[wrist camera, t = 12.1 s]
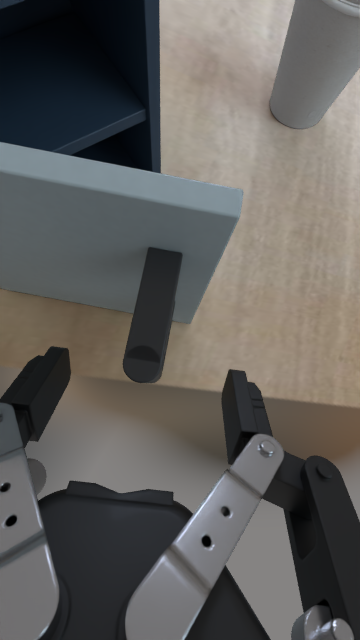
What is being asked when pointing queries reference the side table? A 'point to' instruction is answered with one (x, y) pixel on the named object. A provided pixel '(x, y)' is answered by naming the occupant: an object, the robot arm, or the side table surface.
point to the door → (113, 241)
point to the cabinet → (82, 79)
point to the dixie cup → (316, 60)
